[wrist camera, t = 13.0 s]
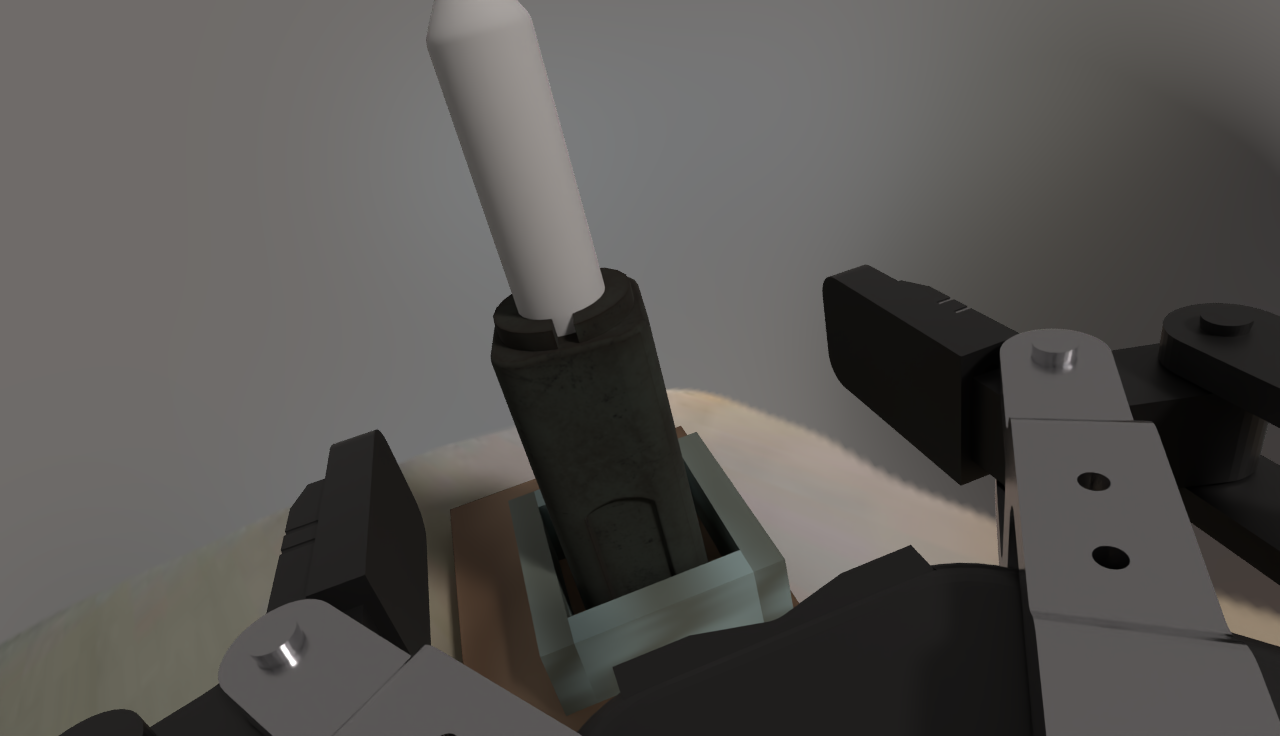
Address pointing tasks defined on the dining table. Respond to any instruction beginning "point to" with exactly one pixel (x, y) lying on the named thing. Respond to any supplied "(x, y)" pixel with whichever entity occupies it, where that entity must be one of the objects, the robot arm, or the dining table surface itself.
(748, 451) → the dining table surface
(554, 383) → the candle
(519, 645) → the socket board
